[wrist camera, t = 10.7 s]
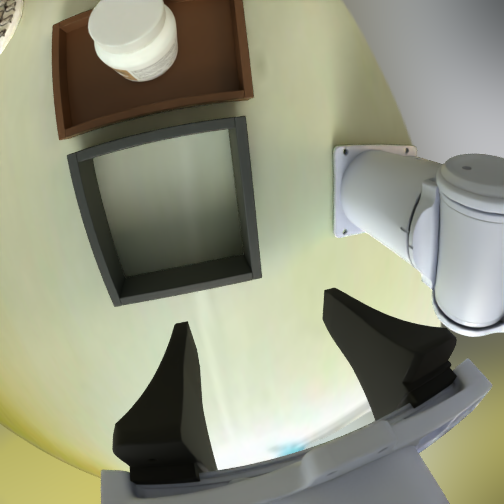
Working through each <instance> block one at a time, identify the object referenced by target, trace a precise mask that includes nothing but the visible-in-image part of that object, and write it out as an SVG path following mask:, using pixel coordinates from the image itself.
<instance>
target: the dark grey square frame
mask: <svg viewBox="0 0 504 504" xmlns="http://www.w3.org/2000/svg"><path fill="white" fill-rule="evenodd" d="M224 129H229V138H230V146H231V155H232V163H233V171H234V179H235V188H236V196H237V204H238V212H239V220H240V228H241V236H242V244H243V252H244V254H242V255H237V256H232V257H227V258H222V259H217V260H212V261H207V262H202V263H197V264H192V265H187V266H182V267H177V268H172V269H167V270H161V271H156V272H151V273H146V274H141V275H136V276H131V277H126V278H125V275H124V273H123V270H122V267H121V264H120V261H119V258H118V255H117V252H116V249H115V246H114V242H113V239H112V236H111V233H110V229H109V226H108V222H107V219H106V215H105V211H104V208H103V204H102V200H101V196H100V192H99V188H98V183H97V179H96V174H95V170H94V165H93V160H92V158H94V157H98V156H101V155H104V154H108V153H111V152H115V151H119V150H123V149H126V148H130V147H134V146H138V145H143V144H147V143H151V142H156V141H160V140H165V139H170V138H175V137H181V136H186V135H192V134H198V133H204V132H210V131H217V130H224ZM67 159H68V164H69V169H70V173H71V178H72V182H73V186H74V190H75V194H76V198H77V202H78V206H79V209H80V213H81V216H82V220H83V223H84V227H85V230H86V233H87V236H88V239H89V242H90V245H91V248H92V251H93V254H94V257H95V259H96V262H97V265H98V268H99V270H100V273H101V275H102V278H103V281H104V283H105V286H106V288H107V290H108V293H109V295H110V298H111V300H112V302H113V305H114V307H116V306H122V305H127V304H133V303H138V302H144V301H149V300H155V299H160V298H165V297H171V296H176V295H181V294H186V293H191V292H196V291H201V290H206V289H211V288H216V287H221V286H226V285H231V284H236V283H240V282H245V281H250V280H253V279H259V278H262V272H261V262H260V251H259V241H258V231H257V221H256V211H255V201H254V191H253V181H252V172H251V162H250V153H249V143H248V134H247V124H246V117H245V116H240V117H231V118H223V119H215V120H208V121H201V122H195V123H189V124H183V125H178V126H173V127H168V128H163V129H158V130H153V131H149V132H145V133H140V134H136V135H132V136H128V137H124V138H121V139H117V140H113V141H110V142H106V143H103V144H100V145H96V146H93V147H90V148H87V149H84V150H81V151H78V152H75V153H72V154H69V155H67Z"/></svg>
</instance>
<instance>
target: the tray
mask: <svg viewBox="0 0 504 504" xmlns="http://www.w3.org/2000/svg"><path fill="white" fill-rule="evenodd" d="M163 2H164V4H165V5H166V6H167V7H168V8H169V9H170V10H171V11H172V13H173V15H174V17H175V21H176V28H177V42H178V52H177V56H176V59H175V61H174V63H173V64H172V66H171V67H170V68H169V69H168V70H167V71H166V72H165V73H164V74H162V75H161V76H159V77H157V78H155V79H153V80H149V81H144V82H137V81H132V80H129V79H126V78H125V77H123V76H122V75H120V74H119V73H118V72H116V71H115V70H114V69H112V68H111V67H109V66H108V65H107V64H105V63H104V62H103V61H102V60H101V59H100V58H99V56H98V55H97V53H96V50H95V46H94V40H93V39H92V37H91V36H90V33H89V29H88V22H89V18H90V15H91V13H92V11H93V9H91V10H88V11H85V12H83V13H80V14H78V15H75V16H73V17H70V18H68V19H65V20H63V21H61V22H59V23H57V24H54V25H53V31H52V78H53V93H54V105H55V114H56V122H57V129H58V136H59V140H63V139H69V138H72V137H75V136H78V135H81V134H84V133H87V132H90V131H93V130H96V129H99V128H103V127H106V126H109V125H113V124H116V123H120V122H124V121H127V120H131V119H135V118H139V117H144V116H148V115H152V114H157V113H162V112H167V111H172V110H177V109H183V108H189V107H195V106H201V105H208V104H216V103H224V102H233V101H244V100H249V99H251V98H254V95H253V85H252V76H251V67H250V59H249V50H248V41H247V33H246V25H245V17H244V9H243V1H242V0H163Z"/></svg>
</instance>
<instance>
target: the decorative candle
mask: <svg viewBox="0 0 504 504" xmlns="http://www.w3.org/2000/svg"><path fill="white" fill-rule="evenodd" d="M23 5H24V2H23V0H0V54H1V52H2V51H3V50H4V49H5V47H6V45H7V44H8V42H9V41H10V39H11V38H12V36H13V35H14V33H15V31H16V28H17V26H18V24H19V21H20V19H21V17H22V11H23Z"/></svg>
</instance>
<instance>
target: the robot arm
mask: <svg viewBox="0 0 504 504" xmlns="http://www.w3.org/2000/svg"><path fill="white" fill-rule="evenodd" d="M344 149H346V153H345V154H343V150H344ZM405 149H406V152H405ZM333 166H334V229H333V233H334V235H335V236H336V237H338V238H341V237H346V236H351V235H356V234H360V233H365V232H366V233H368V234H369V235H370V236H372V237H373V238H375V239H376V240H378V241H379V242H380V243H382V244H383V245H385V246H386V247H387V248H389V249H390V250H392V251H393V252H394V253H396V254H397V255H398V256H400V257H401V258H402V259H404V260H405V261H406V262H408V263H409V264H410V265H412V266H413V267H414V268H416V269H417V270H418V271H419V272H420V273H421V276H422V282H424V283H425V284H426V285H427V286H429V287H430V288H431V289H432V290H433V291H432V305H433V309H434V311H435V314H436V315H437V317H438V319H439V320H440V321H441V322H442V323H443V324H444V325H445V326H447V327H448V328H449V329H451V330H453V331H454V332H457V333H459V334H462V335H466V336H474V337H475V336H483V335H487V334H491V333H496V332H504V158H500V157H497V156H492V155H485V154H464V155H458V156H455V157H452V158H450V159H449V160H447V161H446V162H445V164H440V163H437V162H433V161H430V160H426V159H423V158H420V157H417V149H416V147H415V146H412V145H338V146H336V147H334V149H333ZM344 229H345V232H344V233H343V230H344ZM323 321H324V323H325V325H326V328H327V329H328V331H329V333H330V335H331V337H332V338H333V340H334V341H335V343H336V344H337V346H338V347H339V348H340V350H341V351H342V353H343V354H344V356H345V357H346V359H347V360H348V362H349V363H350V365H351V366H352V368H353V370H354V372H355V374H356V376H357V378H358V380H359V382H360V384H361V386H362V388H363V390H364V392H365V395H366V397H367V400H368V402H369V404H370V407H371V409H372V412H373V415H374V418H375V422H372V423H370V424H368V425H366V426H364V427H362V428H360V429H357V430H355V431H353V432H350V433H348V434H346V435H343V436H341V437H338V438H336V439H333V440H331V441H328V442H326V443H323V444H320V445H317V446H314V447H311V448H308V449H305V450H302V451H299V452H296V453H292V454H289V455H286V456H282V457H279V458H275V459H271V460H267V461H263V462H259V463H255V464H250V465H245V466H240V467H235V468H230V469H224V470H217V466H216V463H215V459H214V455H213V451H212V448H211V444H210V439H209V435H208V431H207V426H206V421H205V416H204V411H203V404H202V392H201V376H200V365H199V359H198V353H197V348H196V345H195V342H194V339H193V336H192V333H191V330H190V327H189V324H188V321H187V322H182V323H176V324H175V325H174V329H173V332H172V335H171V338H170V341H169V344H168V347H167V349H166V352H165V354H164V357H163V359H162V361H161V363H160V365H159V367H158V369H157V371H156V373H155V375H154V377H153V379H152V380H151V382H150V384H149V385H148V387H147V388H146V390H145V391H144V393H143V394H142V395H141V397H140V398H139V399H138V400H137V402H136V403H135V404H134V405H133V407H132V408H131V409H130V410H129V411H128V412H127V413H126V414H125V415H124V416H123V417H122V418H121V419H120V420H119V421H118V422H117V423H116V424H115V429H114V434H113V453H114V454H115V455H116V456H117V457H118V458H119V459H121V460H122V461H123V462H125V463H126V464H127V465H129V466H130V472H127V471H120V470H101V504H450V503H449V502H448V500H447V498H446V497H445V495H444V493H443V492H442V490H441V488H440V487H439V485H438V484H437V482H436V480H435V479H434V477H433V475H432V474H431V473H430V471H429V469H428V467H427V466H426V464H425V463H424V461H423V459H422V458H421V456H420V455H419V453H420V452H422V451H423V450H424V449H426V448H427V447H429V446H430V445H431V444H433V443H434V442H435V441H437V440H438V439H439V438H440V437H442V436H443V435H444V434H446V433H447V432H448V431H449V430H451V429H452V428H453V427H454V426H455V425H457V424H458V423H459V422H460V421H461V420H463V419H464V417H466V416H467V415H468V414H469V413H471V412H472V411H473V410H474V409H475V407H476V406H477V405H478V404H479V403H480V401H481V400H482V399H483V398H484V397H485V395H486V394H487V393H488V391H489V390H490V389H491V387H492V384H491V383H490V382H489V380H488V379H487V378H486V377H485V376H484V375H483V374H482V373H481V371H480V370H479V369H478V368H477V367H476V366H475V365H474V364H473V363H472V362H471V361H470V360H469V359H466V360H465V361H464V362H462V363H461V364H459V365H458V366H457V367H456V368H455V369H454V370H453V371H452V370H451V369H450V366H451V363H450V362H449V361H448V359H449V358H450V356H451V354H452V352H453V350H454V348H455V345H456V337H455V336H454V335H453V334H452V333H451V332H450V331H449V330H448V329H447V328H441V327H431V326H425V325H419V324H415V323H411V322H407V321H403V320H400V319H397V318H394V317H392V316H389V315H387V314H384V313H382V312H380V311H378V310H375V309H373V308H371V307H369V306H367V305H365V304H363V303H362V302H360V301H358V300H356V299H354V298H353V297H351V296H349V295H347V294H346V293H344V292H342V291H340V290H338V289H336V288H331V289H327V290H324V306H323Z"/></svg>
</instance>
